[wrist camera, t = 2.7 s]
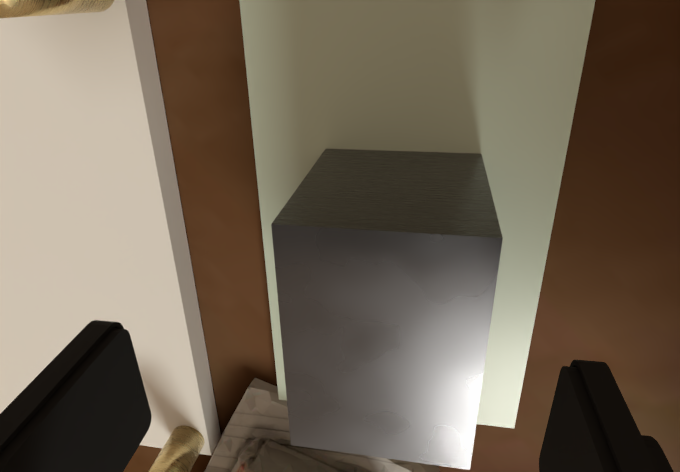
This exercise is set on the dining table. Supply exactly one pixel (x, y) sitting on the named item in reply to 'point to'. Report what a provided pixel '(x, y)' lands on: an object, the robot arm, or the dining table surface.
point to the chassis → (96, 212)
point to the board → (428, 108)
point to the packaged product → (284, 443)
